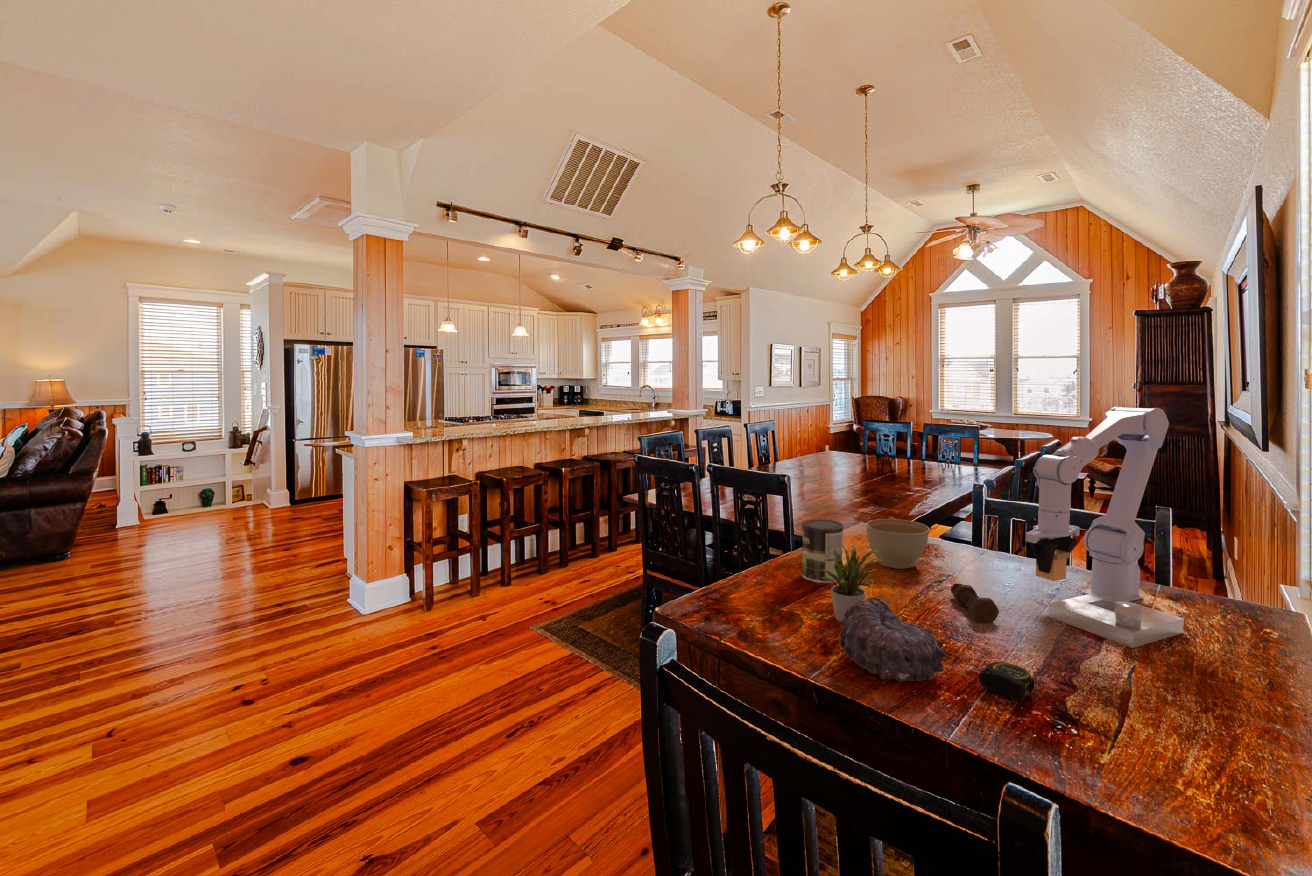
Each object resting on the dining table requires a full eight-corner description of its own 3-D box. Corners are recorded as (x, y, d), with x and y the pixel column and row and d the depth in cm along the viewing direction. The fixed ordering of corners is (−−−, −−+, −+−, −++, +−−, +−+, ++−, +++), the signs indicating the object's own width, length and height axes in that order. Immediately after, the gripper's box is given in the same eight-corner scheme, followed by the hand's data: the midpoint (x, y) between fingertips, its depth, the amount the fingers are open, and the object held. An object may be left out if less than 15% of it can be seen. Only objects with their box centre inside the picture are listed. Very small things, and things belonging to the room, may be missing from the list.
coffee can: (804, 583, 149) (804, 528, 147) (799, 570, 159) (800, 518, 157) (846, 584, 147) (847, 529, 146) (839, 571, 157) (839, 519, 156)
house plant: (900, 618, 126) (902, 543, 124) (873, 639, 116) (875, 558, 114) (837, 601, 136) (838, 532, 134) (808, 620, 126) (808, 545, 124)
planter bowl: (871, 572, 156) (872, 532, 155) (860, 554, 172) (861, 518, 171) (936, 574, 153) (937, 534, 152) (919, 556, 169) (920, 519, 168)
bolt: (960, 604, 138) (988, 629, 123) (941, 594, 138) (966, 617, 123) (973, 584, 137) (1004, 606, 122) (954, 573, 137) (982, 594, 123)
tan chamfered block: (1045, 572, 133) (1046, 546, 133) (1068, 579, 129) (1069, 552, 128) (1032, 574, 132) (1033, 548, 131) (1055, 582, 127) (1057, 554, 127)
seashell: (853, 644, 118) (807, 621, 111) (891, 594, 117) (848, 568, 109) (925, 717, 101) (877, 696, 94) (971, 660, 100) (925, 634, 93)
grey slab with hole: (1096, 605, 131) (1098, 574, 131) (1182, 632, 117) (1185, 598, 116) (1048, 616, 125) (1049, 585, 125) (1132, 648, 111) (1135, 612, 110)
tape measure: (975, 689, 97) (976, 668, 97) (996, 677, 101) (997, 656, 101) (1020, 708, 92) (1021, 685, 91) (1040, 694, 95) (1041, 672, 95)
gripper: (1058, 503, 135) (1055, 561, 136) (1013, 509, 130) (1011, 569, 131) (1090, 509, 128) (1087, 569, 130) (1044, 516, 123) (1042, 579, 125)
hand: (1051, 570), depth 130 cm, fingers closed on tan chamfered block, 4 cm apart
